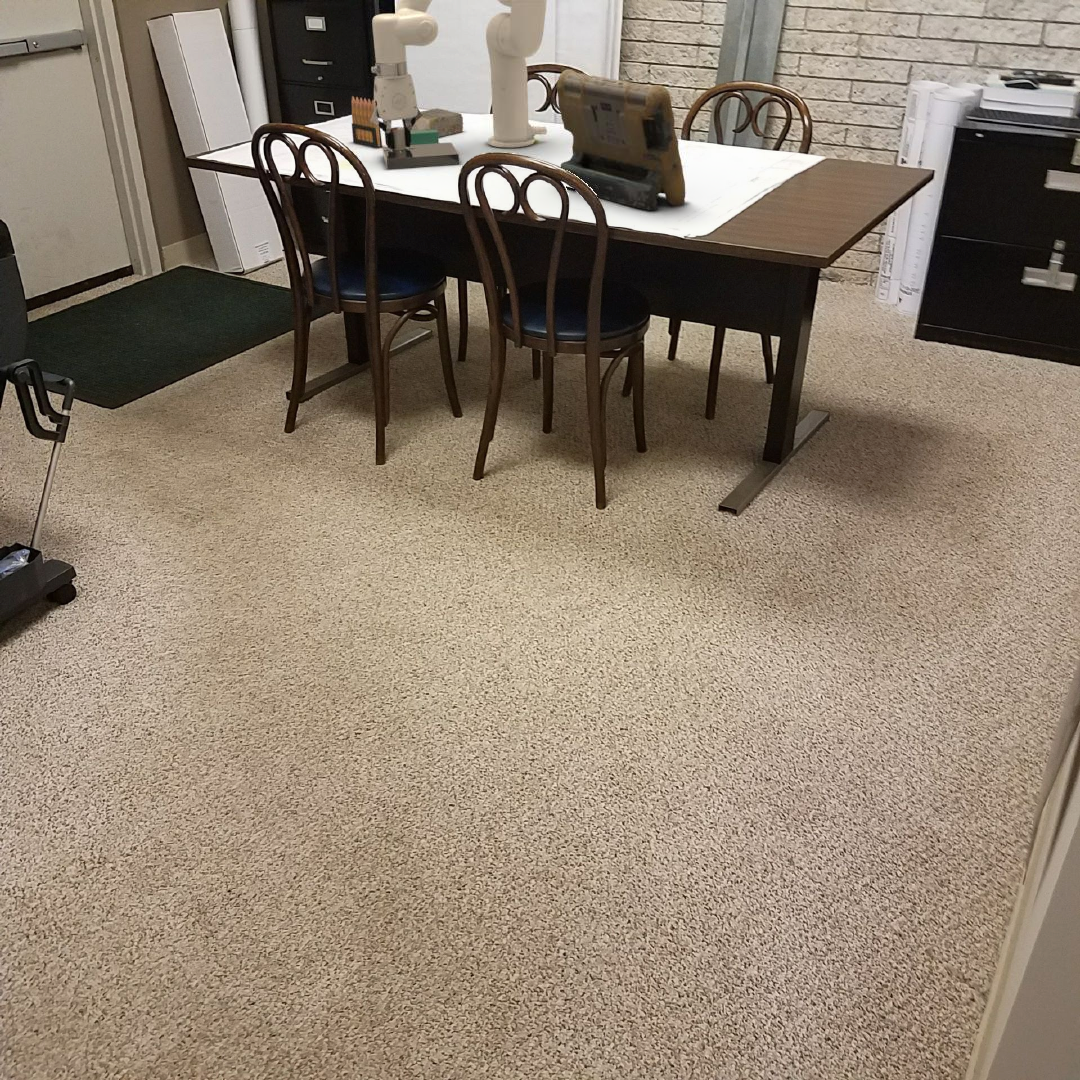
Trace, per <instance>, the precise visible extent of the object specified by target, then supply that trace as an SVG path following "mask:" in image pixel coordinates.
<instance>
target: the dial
mask: <svg viewBox="0 0 1080 1080" xmlns="http://www.w3.org/2000/svg"><path fill="white" fill-rule="evenodd" d="M391 133H393V136H394V147H395V148H394V149H392V150H396V151H400V150H405V149H406V141H405V129H404V128H403V126H395V127H391Z"/></svg>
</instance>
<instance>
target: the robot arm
mask: <svg viewBox="0 0 1080 1080" xmlns="http://www.w3.org/2000/svg"><path fill="white" fill-rule="evenodd" d="M432 1H433V0H399V1H398V4H397V6H396V9H395V12H394V13H380V14H376V15H375V16H373V18H372V21H371V22H372V23H371V24H372V25H371V26H372V36H373V47H374V58H375V65H374V66H371V68H370V70H371V73H372V74H375V75H376V76H374V81H373V82H374V85H373V100H374V108H375V110H374V112H373V114H372V117H371V119H370V121H371V122H372V123H374V124H375V125H377V126H379V127H380V130H382V131H383V132H384V140H385V145H386V147H388V148H390V149H394V148H395V147H394V136H393V133H391V128H392V121H398V120H401V122H402V127H403V128H404V129H405V141H406V147H410V143H411V132H410V130H412V127H413V125H414V124H415V122H416V121H417V120H418V119H419V118H421V117H422V114H421V110H420V109H419V108H418V101H417V95H416V89H415V85H414V81H413V78H412V74H410V73H408V63H407V60H408V59H407V50H406V49H407V48H406V47H407V46H413V47H415V46H416V47H425V46H429V45H431V44H432V43H433V42H434V41H435V40H436V39H437V37H438V34H439V25H438V24H437V21H436V19H435V18H434V17H433V16H432V15H430V14H429V13H427V11H428V9H429V6H430V5H431V3H432ZM497 1H498V3H500V4H501V5H503V6H504V7H505V6H506V7H509V8H510V12H500V13H498V14H495V15H494V16H492V18H491V19H490V20H489V22H488V24H487V26H486V30H485V40H486V41H485V42H486V46H487V51H488V55H489V56H488V57H489V65H490V80H491V81H490V84H491V85H490V87H491V107H492V130H493V131H492V132H493V133H492V134H493V135H492V136H490V137H488V138H487V144H488V145H489V146H492V147H497V148H506V149H507V148H508V149H509V148H522V147H529V146H531V145H533V144H534V143H536V139H535V136H537V135H539V136H543V135H547V127H546V126H532V125H531V124H530V123H529V90H528V89H529V88H528V87H529V86H528V85H529V84H528V67H527V61H526V59H527V58H530V57H532V56H534V55H535V54H536V53H537V52H538V51H539V49H540V47H541V45H542V42H543V38H544V37H543V36H544V32H545V31H544V29H545V22H546V21H545V20H546V11H547V0H497ZM379 119H381V120H382V121H381V120H379Z"/></svg>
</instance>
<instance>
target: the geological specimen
mask: <svg viewBox="0 0 1080 1080" xmlns="http://www.w3.org/2000/svg"><path fill="white" fill-rule="evenodd" d="M420 112H421V114H422V117H421V118H419V119H418V120H417V121H416V122H415V124H414V125H413V127H412V130H410V132H412V131H427V130H437V131H438V138H441V137H445V136H449V135H454V134H460V133H462V132H463V129H464V121H463V119H464V118H463V115H462V113H460V112H455V111H450V110H447V109H441V108H432V109H427V110H422V111H421V110H420Z"/></svg>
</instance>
